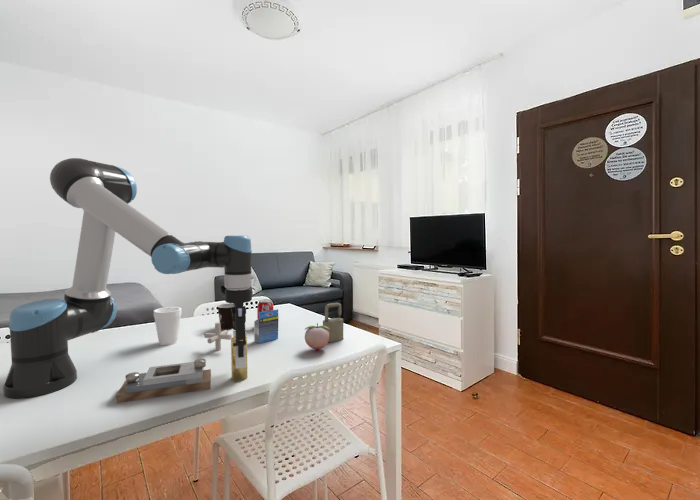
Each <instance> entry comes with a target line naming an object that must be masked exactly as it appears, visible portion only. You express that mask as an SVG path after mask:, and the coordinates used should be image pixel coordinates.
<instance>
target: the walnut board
mask: <svg viewBox="0 0 700 500" xmlns="http://www.w3.org/2000/svg"><path fill="white" fill-rule="evenodd" d="M211 379H212V370H211V368H209V369H204V371H203V381H202V383H196V384H189V385H182V386H175V387H168V388H162V389H155V390H148V391H141V392H134V393H127V394H126V391H125V388H126V386H127V384H128V383H126V379H125V380H124V382H123V383H122V385H121V387H120V388H119V390H118V392H117V394H116V395H115V396H116V398H115V399H116V400H115V402H116V404H119V403H124V402H125V403H126V402H132V401H139V400H140V401H141V400H145V399H152V398H153V399H154V398H159V397H164V396H172V395H177V394H186V393H191V392H197V391H204V390H205V391H206V390H211V381H212V380H211Z"/></svg>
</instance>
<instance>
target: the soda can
mask: <svg viewBox="0 0 700 500" xmlns="http://www.w3.org/2000/svg"><path fill="white" fill-rule="evenodd" d="M256 308H257V311H256V312H257V313H256V314H257V317H256V318H257V319H256V320H258V319H259V312H265V311H271V310H274V303H273V300H272V299H266V298H265V299H260V300H258V304H257V307H256ZM268 315H272V313H271V314H270V313H268V314H266V316H268Z"/></svg>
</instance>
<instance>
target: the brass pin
mask: <svg viewBox="0 0 700 500" xmlns="http://www.w3.org/2000/svg"><path fill="white" fill-rule="evenodd" d="M239 341H243V340H239ZM233 343H236V337H232V338H231V340H230V350H231V351H230V356H231V357H230V359H231V362H230V364H231V365H230V366H231V369H230V370H231V381H233V382H241V381H245V380H246V379H248V376H249V375H248V336H246V367H245V368H238V369H236V360H235V346H233Z"/></svg>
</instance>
